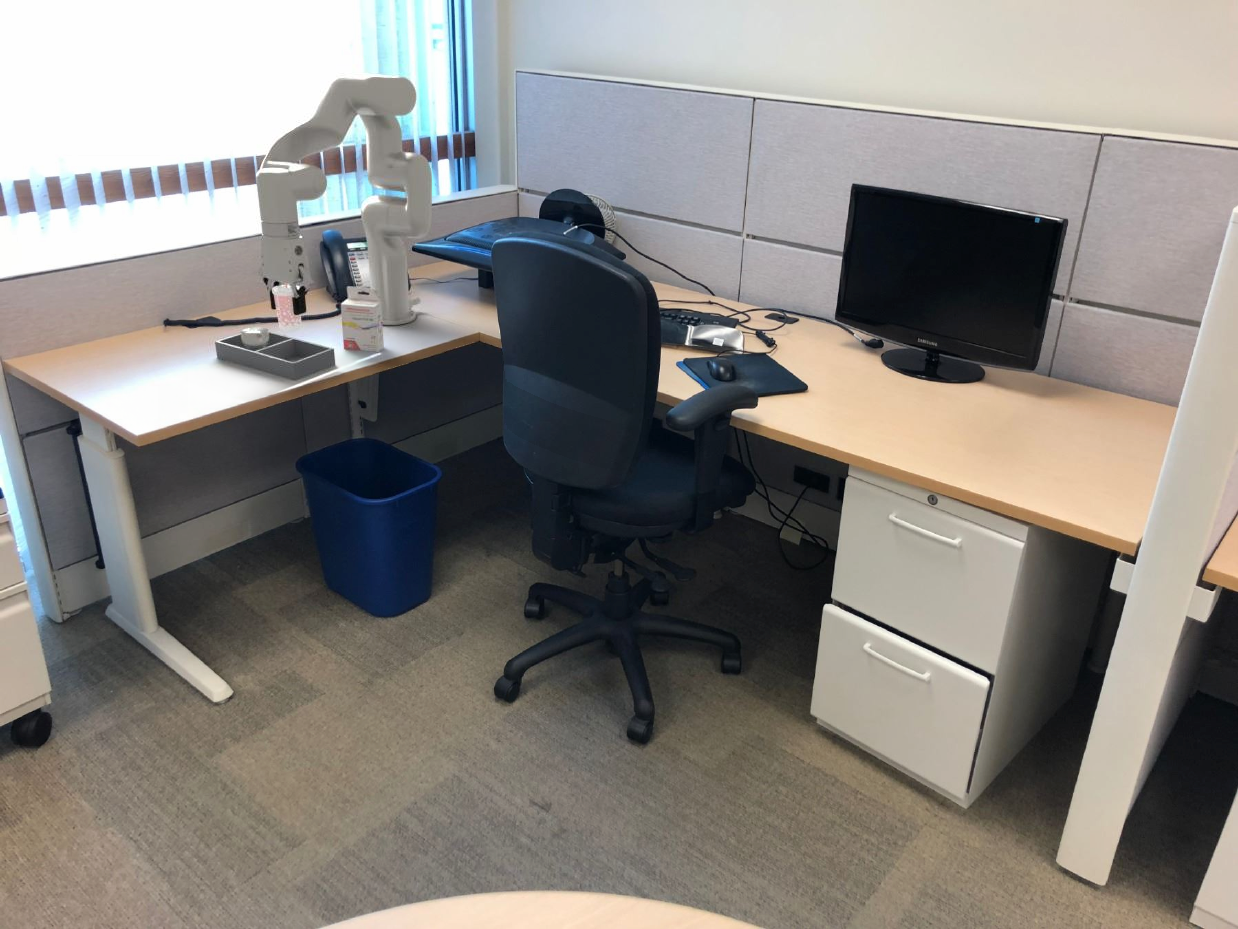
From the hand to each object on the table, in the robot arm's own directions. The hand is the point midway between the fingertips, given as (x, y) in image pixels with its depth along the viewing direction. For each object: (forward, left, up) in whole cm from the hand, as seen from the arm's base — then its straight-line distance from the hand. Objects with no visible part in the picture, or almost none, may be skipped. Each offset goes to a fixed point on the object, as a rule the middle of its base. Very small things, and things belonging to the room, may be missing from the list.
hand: (288, 310), depth 219 cm
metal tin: (0, -12, -13) cm, 18 cm away
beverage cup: (0, 0, -4) cm, 4 cm away
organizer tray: (0, -6, -14) cm, 15 cm away
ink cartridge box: (-19, +3, -14) cm, 24 cm away
